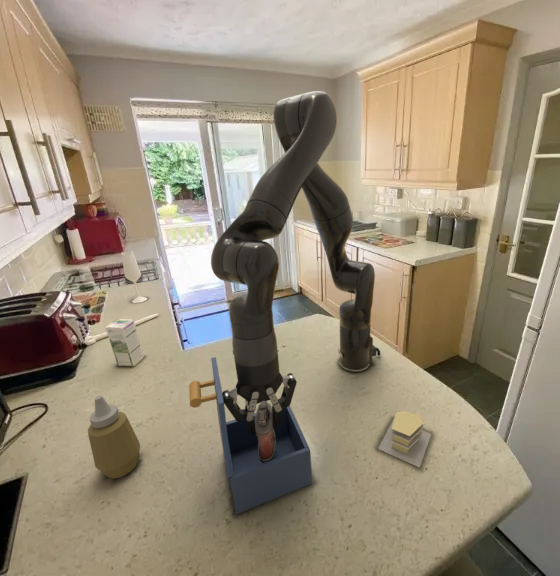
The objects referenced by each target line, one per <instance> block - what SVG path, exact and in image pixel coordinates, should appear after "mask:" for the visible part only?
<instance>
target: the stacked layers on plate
mask: <svg viewBox="0 0 560 576" xmlns="http://www.w3.org/2000/svg"><path fill="white" fill-rule="evenodd" d="M423 427H424V419H423V417H422V416H421V415H420V414H418V413H413V412H409V411H401V410H400V411H397V412H396V413H395V415H394V418H393V420H392V421H391V423H390V425H389V427H388V429H387V431H386V433H385V435H384V437H383V438H382V440H381V443H380V444H379V446H378V448H377V449H378V450H379V451H382V452H384V453H386V454H388V455H391V456H393V457H395V458H396V459H399V460H401V461H403V462H405V463H408V464H410V465H413V466H414V467H416V468H419V469H420V467H421V465H422V461H423V460H424V456H425V455H426V454H425V453H426V451H427V448H428V445H429V442H430V440H431V437H432V433H430V432H428V431H425V430H423Z"/></svg>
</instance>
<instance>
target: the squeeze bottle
mask: <svg viewBox="0 0 560 576" xmlns="http://www.w3.org/2000/svg"><path fill="white" fill-rule="evenodd" d="M89 422H90V423H89V426H88V428H87V435H88V440H89V444H90V445H89V446H90V448H91V455H92V457H93V462H94V467H95V468H96V470H98V471H100V473H102V474H103V475H105V476H106V477H108V478H109V479H120V478H122V477H125V476H126V475H128V474H129V473H131V472H132V471H133V470H134V469H135V468H136V466H137V464H138V462H139V458H140V457H139V456H140V449H141V444H140V440H139V439H138V436H137V434H136V433H135V430H134V429H133V426H132V424H131V422H130V420H129V418H128V416H127V414H126V413H124V412H123V411H119V408H118V406H117V405H115V404H109V403H108V402H107V400H106V399H105V398H104V397H103V395H97V396H95V397H94V411H93V412H92V413H91V414H90V415H89Z"/></svg>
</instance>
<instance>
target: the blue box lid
mask: <svg viewBox="0 0 560 576" xmlns="http://www.w3.org/2000/svg"><path fill="white" fill-rule="evenodd" d="M210 359H211V368H212V376H213V379H211V380H206V381H202V382H201V381H199V380H192V381H191V382H190V383H189V385H188V389H189V390H188V391H189V394H188V395H189V406H190V407H191V408H199V407H201V405H202V403H205V402H206V403H207V402H210V401H215V402H216V411H217V416H218V417H217V418H218V427H219V435H220V440H221V448H222V454H223V460H224V467H225V468H224V469H225V474H226V479H230V477H232V473H231V464H230V455H229V445H228V436H227V427H226V422H227V417H226V410H225V408H226V407H225V404H224V400H223V395H222V393H223V390H222V389H223V388H222V385H221V379H220V373H219V367H218V362H217V357H215V356H214V357H211V358H210ZM212 386H214V393H213V394H208V395H203V396H202V389H203V388H208V387H212Z"/></svg>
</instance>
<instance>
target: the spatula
mask: <svg viewBox="0 0 560 576" xmlns="http://www.w3.org/2000/svg"><path fill="white" fill-rule="evenodd" d="M158 316H159V313H153V314H150V315H148V316H145V317H143V318H140V319H137V320H134V323H135V327H136V326H137V325H140V324H143V323H146V322H147V321H150V320H152V319H154V318H156V317H158ZM107 337H108V334H107V331H105V332H102V333H99V334H96V335H88V336H85V337H84V339H85V341H86V343H85V344H84V345H86V346H91V345H94V344H95V343H96V342H97V341H99V340H101V339H104V338H107Z"/></svg>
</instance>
